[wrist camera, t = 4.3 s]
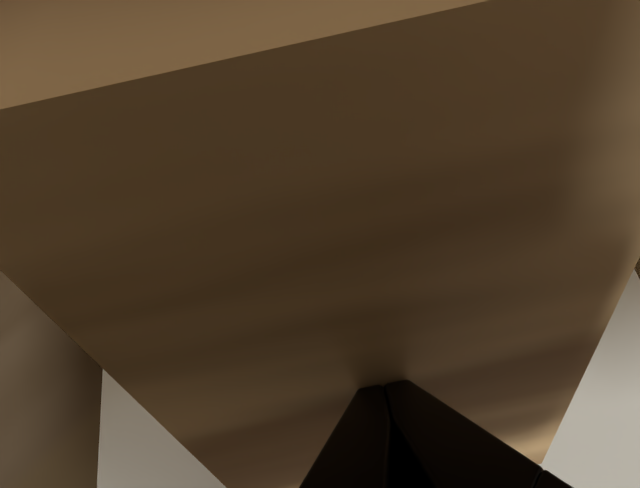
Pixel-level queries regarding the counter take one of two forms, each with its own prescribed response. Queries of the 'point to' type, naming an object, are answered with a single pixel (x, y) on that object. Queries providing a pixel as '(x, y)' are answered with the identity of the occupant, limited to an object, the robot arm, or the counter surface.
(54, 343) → the counter surface
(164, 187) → the oak block
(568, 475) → the grey mat
